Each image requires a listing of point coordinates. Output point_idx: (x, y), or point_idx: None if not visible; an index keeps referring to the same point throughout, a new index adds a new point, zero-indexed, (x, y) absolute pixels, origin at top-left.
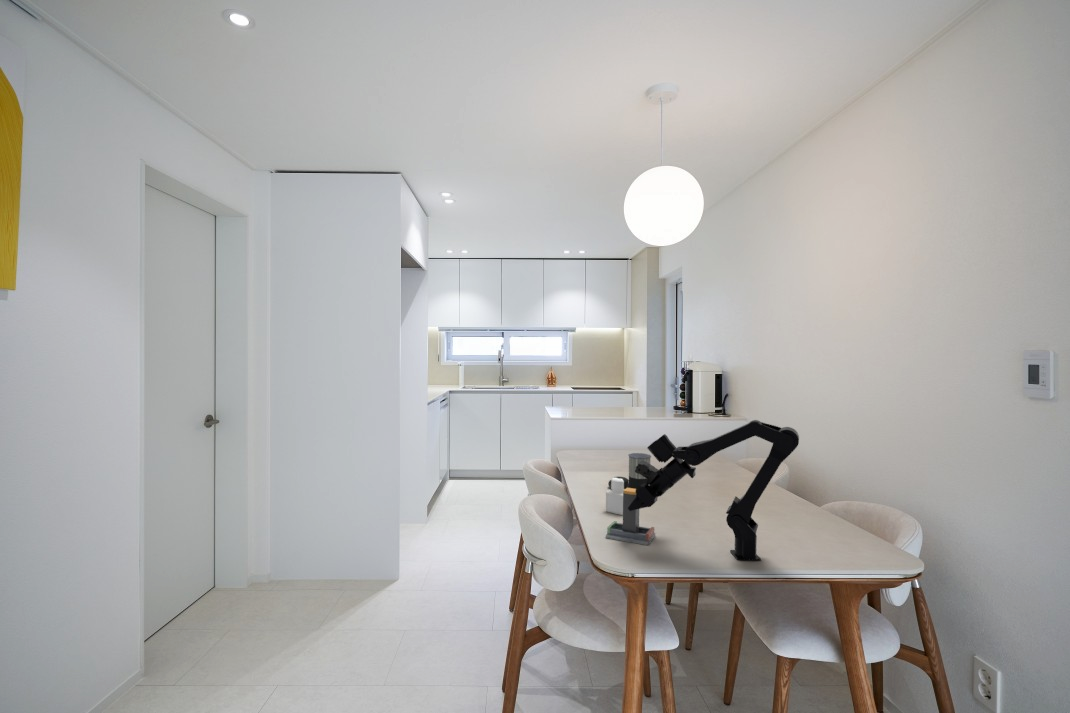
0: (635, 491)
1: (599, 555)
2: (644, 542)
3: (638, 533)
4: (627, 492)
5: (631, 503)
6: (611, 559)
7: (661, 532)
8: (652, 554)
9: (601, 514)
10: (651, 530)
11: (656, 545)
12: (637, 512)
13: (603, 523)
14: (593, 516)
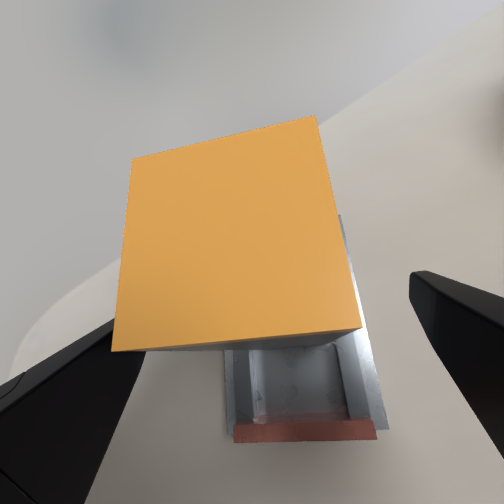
0: (162, 318)
1: (69, 298)
2: (228, 413)
3: (242, 373)
4: (139, 219)
5: (69, 347)
6: (49, 347)
7: (473, 441)
8: (139, 488)
9: (481, 92)
10: (302, 440)
11: (254, 473)
12: (279, 345)
13: (374, 155)
14: (427, 88)
